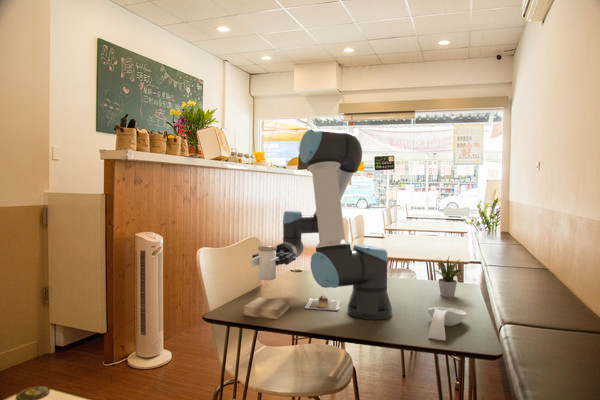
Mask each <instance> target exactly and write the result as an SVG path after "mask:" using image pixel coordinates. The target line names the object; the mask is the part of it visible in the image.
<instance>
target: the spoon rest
mask: <svg viewBox="0 0 600 400" xmlns="http://www.w3.org/2000/svg"><path fill="white" fill-rule="evenodd" d="M427 313H428V314H429V316H430V317H431V318H432V319H431V322H430V325H429V329H428V330H429V331H428V336H427V337H428V338H429V339H430V340H437V341H446V339H447V337H446V330H445V326H446V327H452V326H453V327H454V326H457V325H458V324H460V323H462V322H463V321H464V320H465V319H466V317H467V313H466V311H464V310H461V309H456V308H451V307H438V306H437V307H430V308H428V309H427Z"/></svg>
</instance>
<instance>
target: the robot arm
mask: <svg viewBox="0 0 600 400" xmlns="http://www.w3.org/2000/svg"><path fill="white" fill-rule="evenodd" d="M298 150H299V152H298V155H299V159H300V161H301V162H302V163H304V164H306V166H307V167H306V169H307V171H309V172H310V173H311V175H312V185H313V192H314V202H315V211H314V213H313V214H312V215H311V214H303V213H302V211H300V210H285V211H284V212H283V217H282V229H283V230H282V232H283V233H282V243H279V244H277V245H276V246H277V250H276V258H274V259H272V260H270V268H274V267H276V268H277V266H279V265H281V266H282V265H285V266H288V265H289V264H291V263H292V262H294V261H296V260H297V259H296V258H298V257H299V256H301V255H302V253H303V252H304V249H305V246H304V243H303V242H302V234H318V239H319V243H318V244H317V245H316V246H315V252H313V254H312V255H311V257H310V262H309V263H310V271H311V273H312V277H313V279H314V281H315V282H316V283H317V285H318V286H320V287H321V288H326V289H329V288H332V289H336V288H339V287H341V288H342V287H347V286H352V291H351V295H350V297H349V300H348V304H347V313H348V314H349V315H350V316H352V317H355V318H358V319H362V320H372V321H373V320H375V321H376V320H378V321H379V320H385V319H388V318H390V317H392V316H393V306H392V304H391V300H390V298H389V297H390V296H389V293H388V263H389V260H388V252H387V250H386V249H384V248H382V247H377V246H371V245H363V244H354V245H353V247H351V243H350V242H348V241H347V240H346V235H345V228H344V227H345V226H344V218H343V210H342V209H343V208H342V201H341V200H342V197H343V196H344V193H345V192H346V190H347V187H348V185H349V182H350V181H351V179H352V177H353V175H354V174H355V173H357V172H358V170H359V168H360V167H361V164H362V159H363V148H362V145H361V142H360V140H359V139H358V137H356V135H354V134H353V133H352V132H350V131H347V130H332V129H322V128H317V129H315V128H310V129H308V130H307V131H305V132H304V133H303V136H302V138H301V139H300V144H299V148H298ZM302 214H303V215H302ZM250 261H251V262H250V263H251V264H250V265H251V268H254V267H257V266H259V252H257V253H255V254H252V258H251V260H250Z"/></svg>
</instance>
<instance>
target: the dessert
mask: <svg viewBox="0 0 600 400" xmlns="http://www.w3.org/2000/svg"><path fill="white" fill-rule="evenodd" d="M313 302H317V307H319V308H317V307H310V306H311V305H312V303H313ZM330 303H336V306H335V309H334V308H333V309H332V308H328V307H330ZM341 303H342V302H341V300H337V299H329V298H328V297H326V295H325V294H323V295H320V297H319V298H309V299H308V301H307V303H306V305H305V306H304V309H307V310H320V311H334V312H335V311H339V309H340V305H341Z"/></svg>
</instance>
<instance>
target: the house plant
mask: <svg viewBox="0 0 600 400" xmlns="http://www.w3.org/2000/svg"><path fill="white" fill-rule="evenodd" d="M450 256H451V255H449V256H448V258H447V259H446V265H445V263H444V261H443V260H442V259H438V258H436V259H435V260H434V259H432V258H431V260H432V261H434V262H436V265H437V266H438V267H439V269H440V271H441V272H440V271H438V270H436V269H434V270H433V271H431V272H434V273H437V274H438V275H441V277H442V278H439V279H438V288H439V292H440V296H441V297H444V298H454V297H455V296H456V295H455V294H456V288H457V284H458V281H457V280H456V279H454V278H455V277H458V278H460V276H461V277H462V278H463V274H461V273H460V272H464V269H456V268H457V266H459V265H461V264H463V263H464V262H461V263H460V264H458V263H459V262H460V261H461V258H460V259H457V260H456V258H455V259H452V261H451V262H450V261H449V260H450ZM427 259H429V260H430V258H427ZM440 260H441V261H440ZM455 260H456V261H455ZM454 261H455V262H454ZM449 262H450V263H449ZM453 262H454V263H453Z"/></svg>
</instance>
